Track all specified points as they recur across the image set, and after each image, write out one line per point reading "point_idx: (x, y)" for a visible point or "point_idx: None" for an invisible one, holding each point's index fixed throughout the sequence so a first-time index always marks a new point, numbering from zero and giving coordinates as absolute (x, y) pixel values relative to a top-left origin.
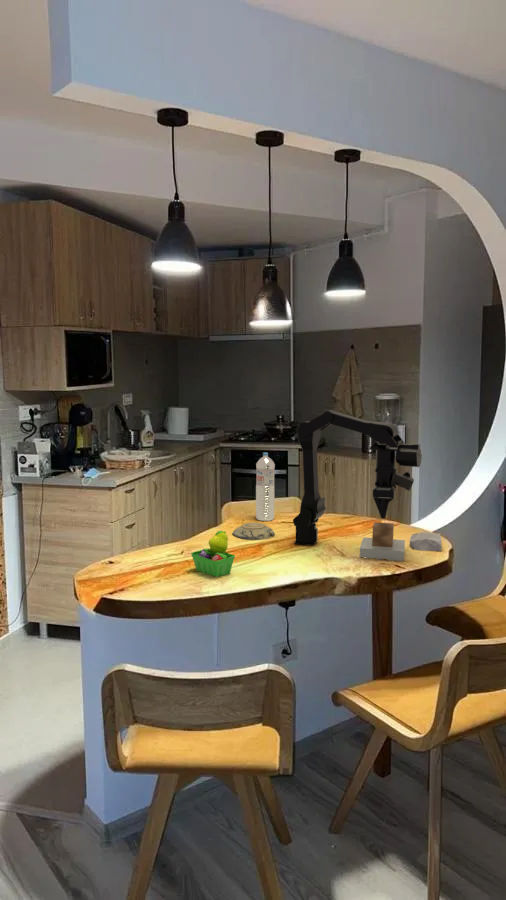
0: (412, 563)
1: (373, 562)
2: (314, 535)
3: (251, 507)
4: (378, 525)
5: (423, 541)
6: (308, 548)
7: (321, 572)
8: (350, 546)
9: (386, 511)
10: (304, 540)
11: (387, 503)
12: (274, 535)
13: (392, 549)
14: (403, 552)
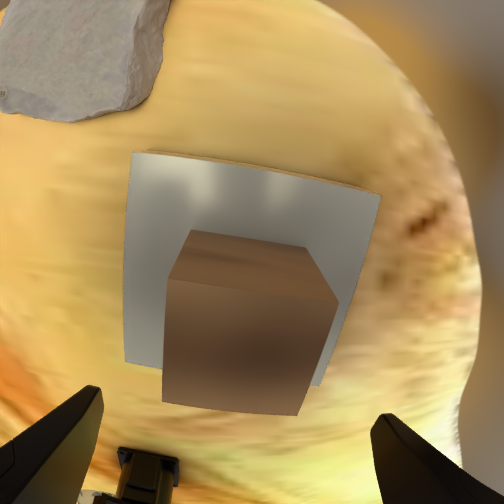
0: (390, 152)
1: (370, 313)
2: (158, 478)
3: None
4: (256, 388)
5: (138, 45)
6: (207, 466)
7: (426, 423)
8: (149, 377)
9: (438, 451)
10: (173, 481)
11: (499, 500)
12: (112, 494)
13: (345, 250)
14: (378, 195)
